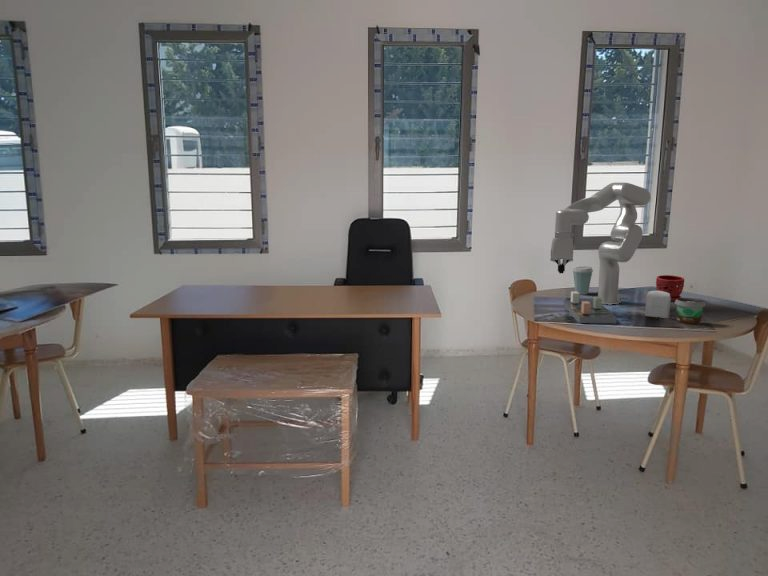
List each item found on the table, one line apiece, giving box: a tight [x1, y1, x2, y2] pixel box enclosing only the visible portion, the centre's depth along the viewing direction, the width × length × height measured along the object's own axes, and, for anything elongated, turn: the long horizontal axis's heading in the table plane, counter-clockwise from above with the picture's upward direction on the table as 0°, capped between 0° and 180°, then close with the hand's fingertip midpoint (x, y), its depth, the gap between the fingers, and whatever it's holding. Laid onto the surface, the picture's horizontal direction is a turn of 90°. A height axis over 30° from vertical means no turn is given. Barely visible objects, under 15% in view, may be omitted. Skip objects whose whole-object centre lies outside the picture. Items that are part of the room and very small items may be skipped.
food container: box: [674, 299, 707, 325], centre depth 253 cm, size 12×6×10 cm, turn 70°
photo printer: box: [644, 290, 672, 319], centre depth 264 cm, size 10×4×12 cm, turn 56°
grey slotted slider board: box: [563, 299, 617, 325], centre depth 272 cm, size 16×34×3 cm, turn 174°
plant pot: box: [655, 274, 685, 302], centre depth 298 cm, size 13×13×12 cm
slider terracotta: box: [581, 300, 591, 314], centre depth 261 cm, size 3×4×5 cm, turn 174°
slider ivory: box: [570, 291, 580, 303], centre depth 282 cm, size 3×4×5 cm, turn 174°
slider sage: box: [592, 295, 603, 309], centre depth 271 cm, size 3×4×5 cm, turn 174°
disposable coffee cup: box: [572, 265, 594, 296], centre depth 317 cm, size 11×11×15 cm
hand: (561, 272), depth 280 cm, fingers closed
